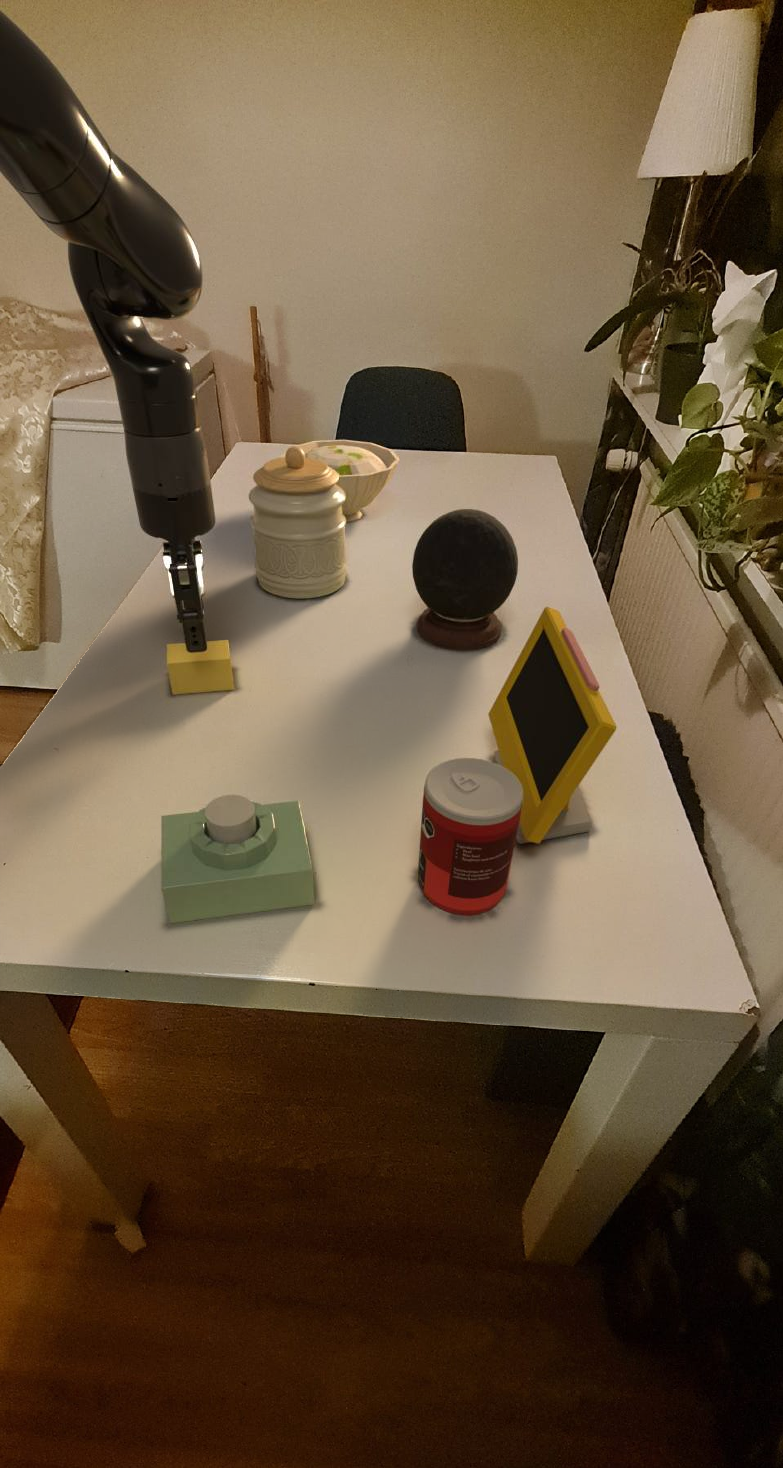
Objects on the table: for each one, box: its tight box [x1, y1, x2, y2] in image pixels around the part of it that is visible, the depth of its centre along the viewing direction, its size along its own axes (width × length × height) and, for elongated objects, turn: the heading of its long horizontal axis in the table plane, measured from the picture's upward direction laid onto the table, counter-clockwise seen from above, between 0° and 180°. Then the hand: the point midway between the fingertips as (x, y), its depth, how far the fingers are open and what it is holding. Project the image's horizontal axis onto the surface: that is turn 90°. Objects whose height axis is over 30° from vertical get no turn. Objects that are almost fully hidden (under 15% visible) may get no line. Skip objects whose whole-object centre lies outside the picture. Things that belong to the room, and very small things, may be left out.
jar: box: [248, 445, 348, 599], centre depth 105 cm, size 13×13×18 cm
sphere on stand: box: [411, 508, 519, 652], centre depth 97 cm, size 13×13×15 cm
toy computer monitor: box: [487, 606, 618, 845], centre depth 71 cm, size 20×8×16 cm, turn 4°
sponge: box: [166, 639, 235, 696], centre depth 89 cm, size 7×4×4 cm, turn 102°
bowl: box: [280, 439, 401, 523], centre depth 127 cm, size 19×19×10 cm
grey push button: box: [204, 794, 257, 845], centre depth 63 cm, size 4×4×2 cm
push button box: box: [160, 800, 315, 924], centre depth 66 cm, size 12×9×6 cm
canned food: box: [417, 757, 523, 916], centre depth 64 cm, size 8×8×11 cm
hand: (196, 631), depth 86 cm, fingers open, 8 cm apart
